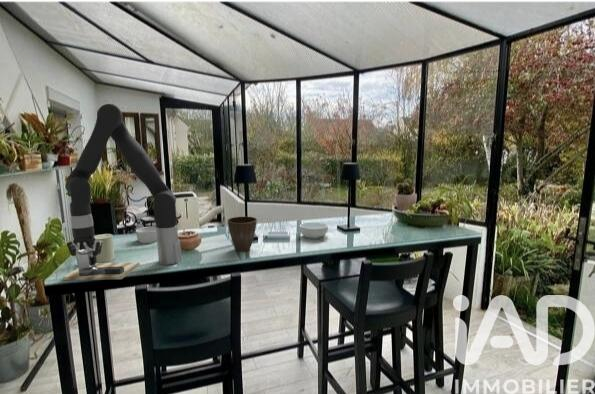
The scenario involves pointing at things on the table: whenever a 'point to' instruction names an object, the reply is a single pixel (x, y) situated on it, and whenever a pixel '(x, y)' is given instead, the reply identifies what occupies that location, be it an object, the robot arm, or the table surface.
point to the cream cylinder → (105, 248)
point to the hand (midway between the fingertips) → (87, 264)
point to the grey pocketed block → (84, 259)
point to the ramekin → (147, 234)
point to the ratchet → (100, 270)
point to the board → (127, 269)
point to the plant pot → (242, 232)
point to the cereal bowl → (313, 230)
